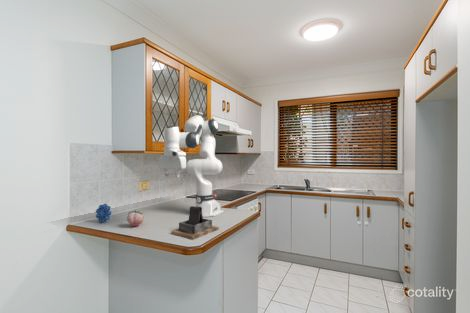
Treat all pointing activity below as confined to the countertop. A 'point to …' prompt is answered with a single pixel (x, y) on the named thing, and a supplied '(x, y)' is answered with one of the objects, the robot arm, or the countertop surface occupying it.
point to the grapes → (103, 213)
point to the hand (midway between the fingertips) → (172, 176)
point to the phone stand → (195, 215)
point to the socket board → (195, 229)
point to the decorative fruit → (135, 218)
